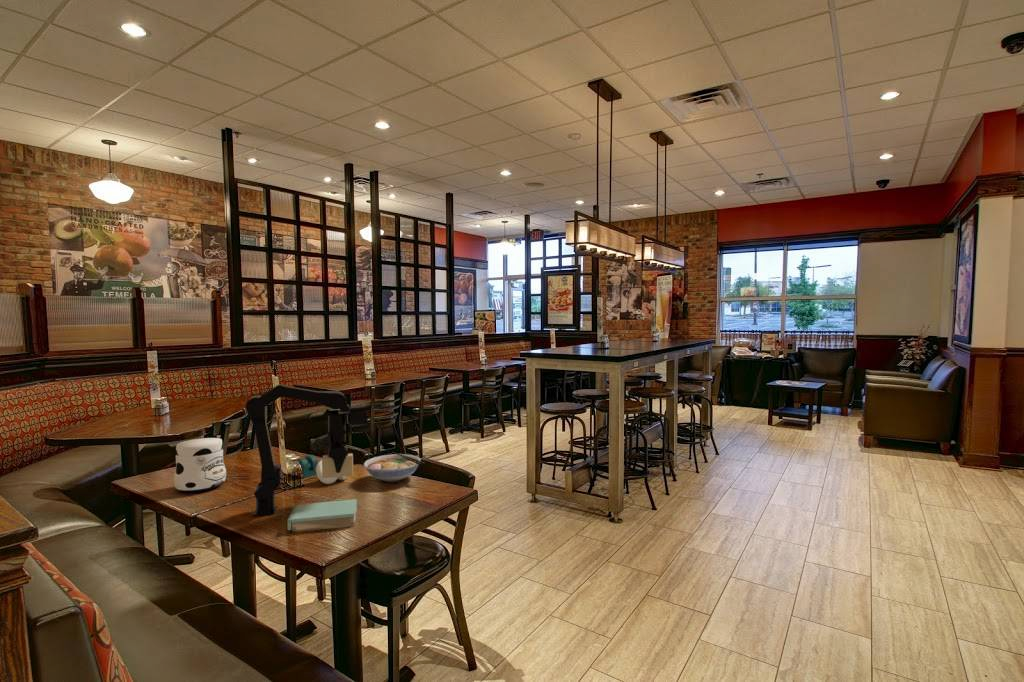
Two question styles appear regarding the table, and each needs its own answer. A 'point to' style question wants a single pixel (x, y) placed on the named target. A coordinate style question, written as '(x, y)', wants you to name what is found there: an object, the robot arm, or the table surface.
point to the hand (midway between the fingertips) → (337, 470)
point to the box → (324, 523)
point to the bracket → (308, 465)
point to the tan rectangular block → (329, 467)
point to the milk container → (199, 465)
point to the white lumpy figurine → (326, 480)
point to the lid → (322, 511)
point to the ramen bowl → (392, 466)
